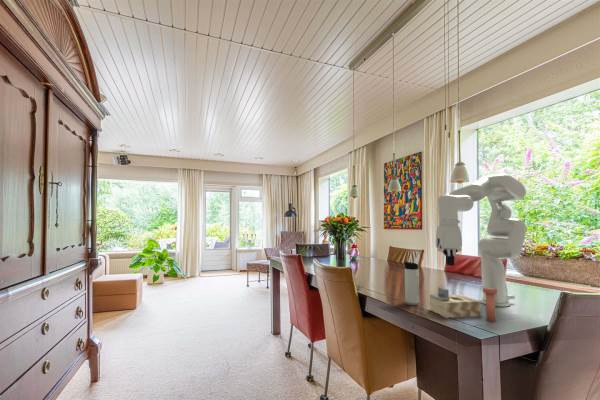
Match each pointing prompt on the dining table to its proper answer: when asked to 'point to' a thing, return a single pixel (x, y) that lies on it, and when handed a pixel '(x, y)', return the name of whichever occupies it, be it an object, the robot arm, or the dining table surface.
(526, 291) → the dining table surface
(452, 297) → the block
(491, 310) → the pin
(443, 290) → the keeper
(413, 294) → the travel mug
